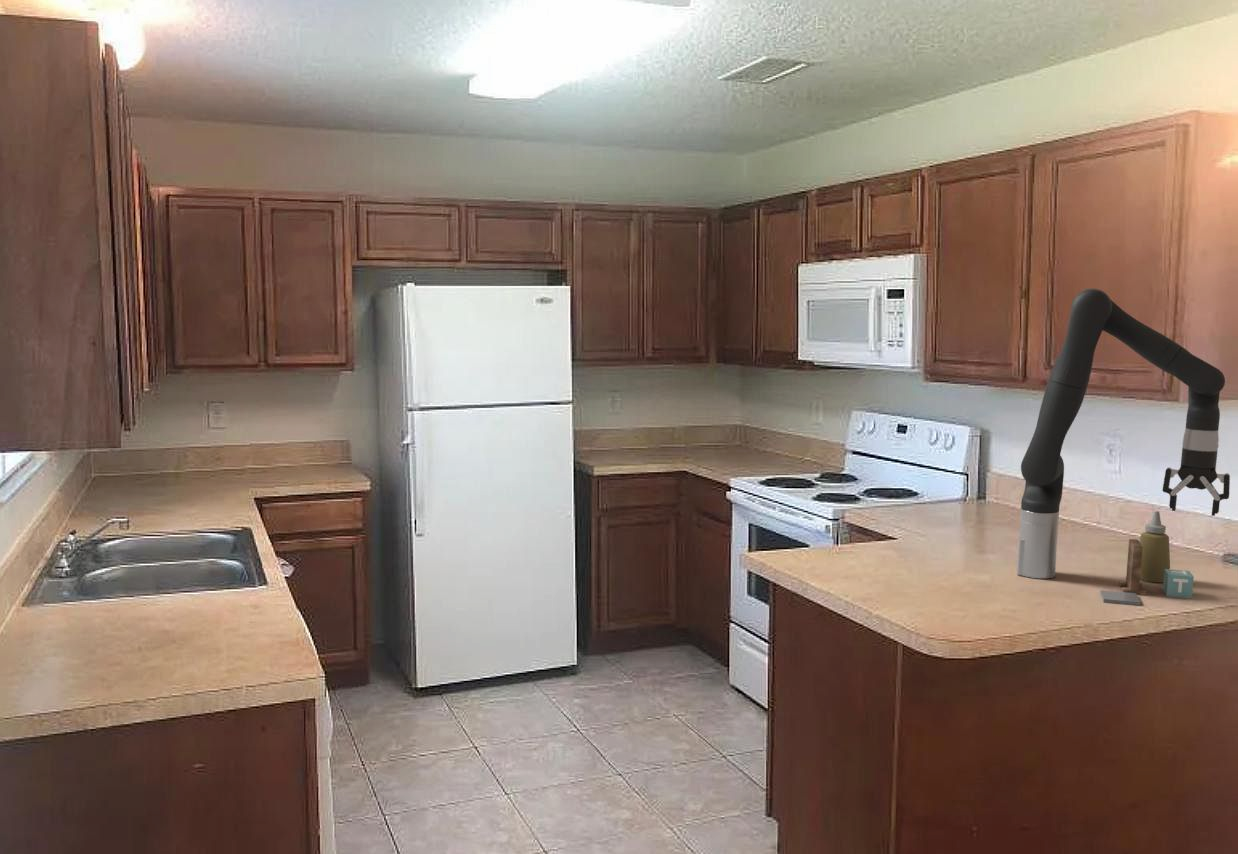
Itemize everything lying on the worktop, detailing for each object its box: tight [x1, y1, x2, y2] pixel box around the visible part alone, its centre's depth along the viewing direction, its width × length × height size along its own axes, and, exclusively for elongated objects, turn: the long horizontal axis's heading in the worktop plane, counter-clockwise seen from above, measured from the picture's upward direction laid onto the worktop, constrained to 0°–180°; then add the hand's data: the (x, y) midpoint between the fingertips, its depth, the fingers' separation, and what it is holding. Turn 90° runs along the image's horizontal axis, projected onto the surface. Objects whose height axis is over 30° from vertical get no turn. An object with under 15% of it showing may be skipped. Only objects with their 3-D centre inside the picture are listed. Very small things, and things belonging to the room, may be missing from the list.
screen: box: [1118, 538, 1147, 596], centre depth 258 cm, size 5×8×12 cm, turn 161°
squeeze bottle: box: [1138, 510, 1171, 583], centre depth 266 cm, size 8×8×18 cm
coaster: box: [1099, 589, 1142, 607], centre depth 250 cm, size 8×8×1 cm
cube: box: [1162, 568, 1195, 599], centre depth 255 cm, size 6×6×6 cm
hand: (1193, 512), depth 254 cm, fingers open, 8 cm apart
